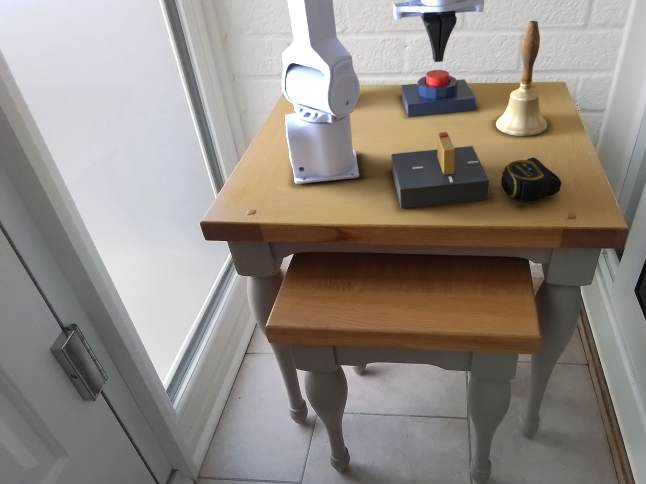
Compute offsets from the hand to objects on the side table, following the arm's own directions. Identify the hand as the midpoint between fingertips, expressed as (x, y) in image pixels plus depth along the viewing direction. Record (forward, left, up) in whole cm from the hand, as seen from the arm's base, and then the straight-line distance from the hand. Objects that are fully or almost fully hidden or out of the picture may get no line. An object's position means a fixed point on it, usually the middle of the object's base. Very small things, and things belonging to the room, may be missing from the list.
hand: (437, 59), depth 92 cm
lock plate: (-5, -28, -8) cm, 29 cm away
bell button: (0, 0, -4) cm, 4 cm away
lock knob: (-4, -28, -5) cm, 29 cm away
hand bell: (+12, -12, -8) cm, 19 cm away
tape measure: (+7, -32, -8) cm, 34 cm away
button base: (0, 0, -8) cm, 8 cm away
